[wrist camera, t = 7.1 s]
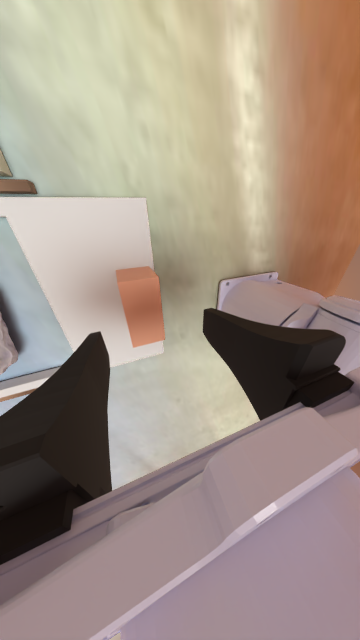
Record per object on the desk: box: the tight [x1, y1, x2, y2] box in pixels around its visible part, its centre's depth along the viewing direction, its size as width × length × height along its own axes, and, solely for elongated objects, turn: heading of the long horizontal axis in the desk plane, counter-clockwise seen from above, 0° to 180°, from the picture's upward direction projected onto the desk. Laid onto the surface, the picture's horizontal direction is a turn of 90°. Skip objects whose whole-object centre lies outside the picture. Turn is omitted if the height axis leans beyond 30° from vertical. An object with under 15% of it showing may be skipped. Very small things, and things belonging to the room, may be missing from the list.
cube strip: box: [0, 197, 165, 398], centre depth 13 cm, size 24×16×5 cm
